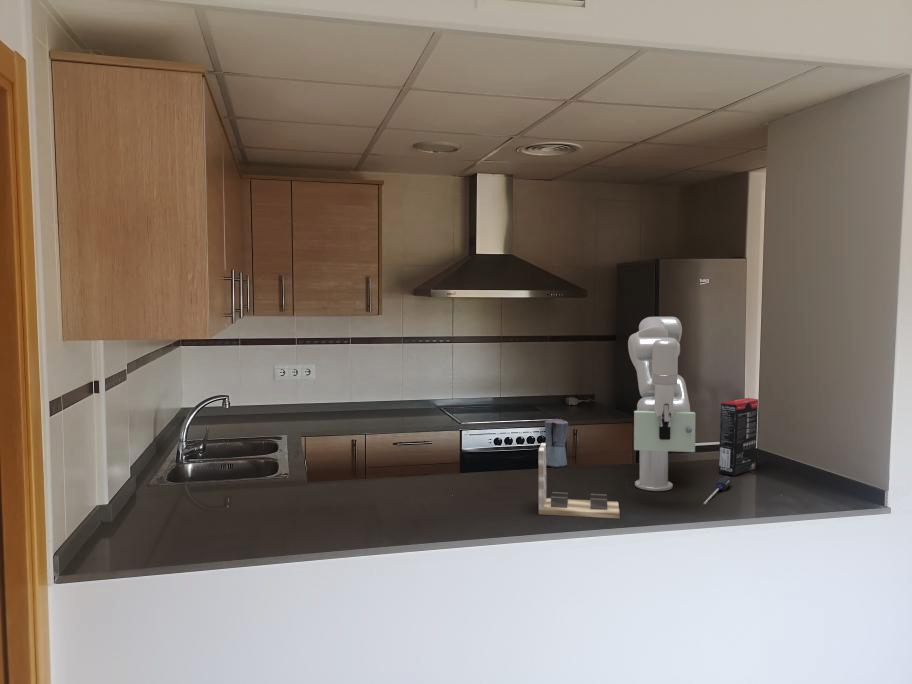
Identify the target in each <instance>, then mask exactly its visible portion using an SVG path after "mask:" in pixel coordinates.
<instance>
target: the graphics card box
mask: <svg viewBox="0 0 912 684" xmlns="http://www.w3.org/2000/svg"><path fill="white" fill-rule="evenodd" d="M758 410H759V399H757V398H754V397H753V398H752V397H751V398H750V397H747V398H738V399H734V400H727V401H723V402H721V403H720V423H719V446H718V447H719V449H718V450H719V452H718V453H719V454H718V473H719V474H723V475H724V474H725V475H727V476H728V475H729V476H732V477H735V476H737V475H742V474H744V473H747V472H750V471H754V470H756V467H757V466H756V465H757V440H758V439H757V438H758V415H759V413H758Z"/></svg>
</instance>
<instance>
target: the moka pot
mask: <svg viewBox="0 0 912 684" xmlns="http://www.w3.org/2000/svg"><path fill="white" fill-rule="evenodd" d="M544 427H545V428H544V431H545V438H546V466H549V467H554V468H555V467H559V468H560V467H566V466H567V465H568V461H567V453H566V451H567V450H566V442H567V437H568V430H569V422H568V421H567V420H562V419H559V415H558V414H555V415H554V418H553V419H549V420H544Z"/></svg>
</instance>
